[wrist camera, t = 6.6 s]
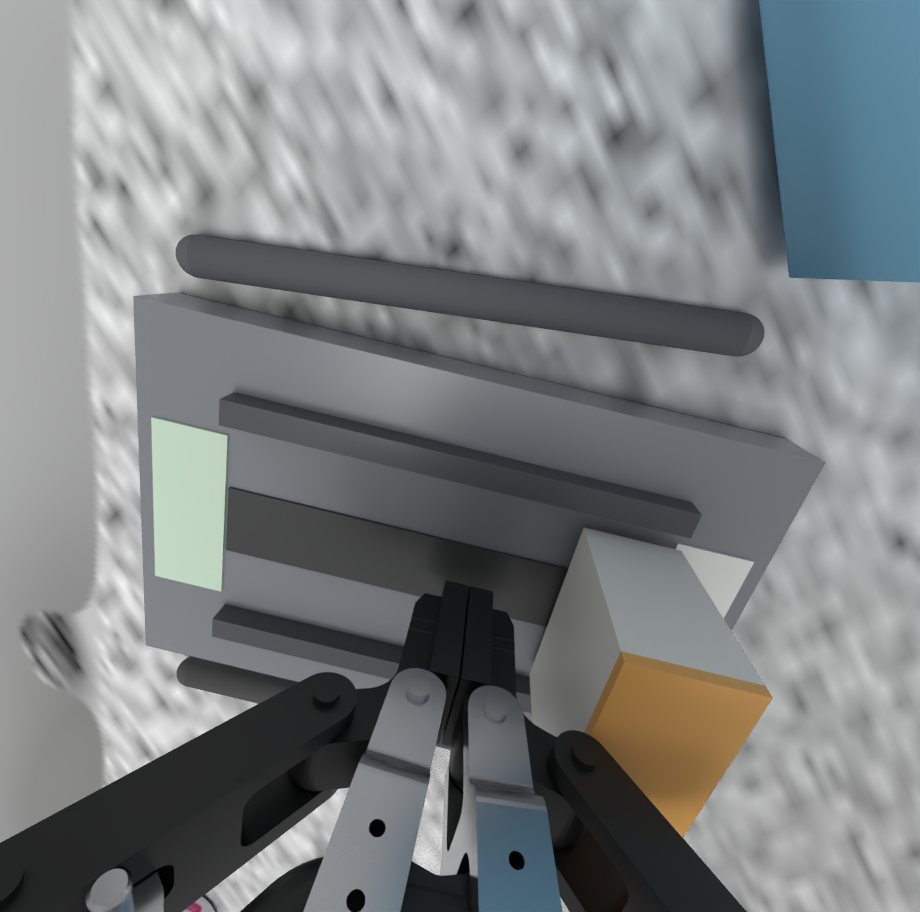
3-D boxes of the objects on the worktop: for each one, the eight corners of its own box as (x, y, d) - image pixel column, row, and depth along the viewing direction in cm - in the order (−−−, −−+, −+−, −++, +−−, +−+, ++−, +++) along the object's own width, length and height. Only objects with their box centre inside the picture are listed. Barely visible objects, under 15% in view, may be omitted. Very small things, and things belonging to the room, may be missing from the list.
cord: (758, 314, 14) (779, 318, 13) (743, 355, 15) (763, 362, 13) (190, 233, 15) (164, 230, 14) (193, 275, 15) (168, 275, 14)
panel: (786, 439, 15) (843, 473, 13) (641, 721, 20) (661, 788, 18) (178, 292, 15) (111, 297, 13) (178, 610, 20) (131, 661, 18)
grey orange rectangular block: (681, 551, 14) (772, 697, 9) (613, 694, 17) (659, 874, 12) (583, 527, 14) (624, 662, 9) (529, 674, 17) (539, 845, 12)
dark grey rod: (616, 749, 21) (622, 776, 20) (607, 768, 21) (613, 795, 20) (188, 646, 21) (170, 668, 20) (187, 667, 21) (170, 689, 20)
